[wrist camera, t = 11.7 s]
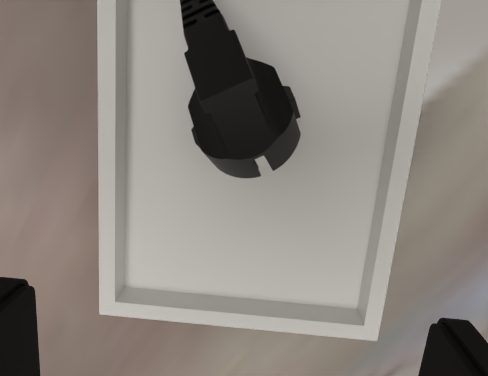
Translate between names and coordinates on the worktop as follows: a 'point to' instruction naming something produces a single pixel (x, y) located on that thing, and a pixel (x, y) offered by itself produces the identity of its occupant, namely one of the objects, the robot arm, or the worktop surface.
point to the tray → (270, 182)
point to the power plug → (235, 98)
